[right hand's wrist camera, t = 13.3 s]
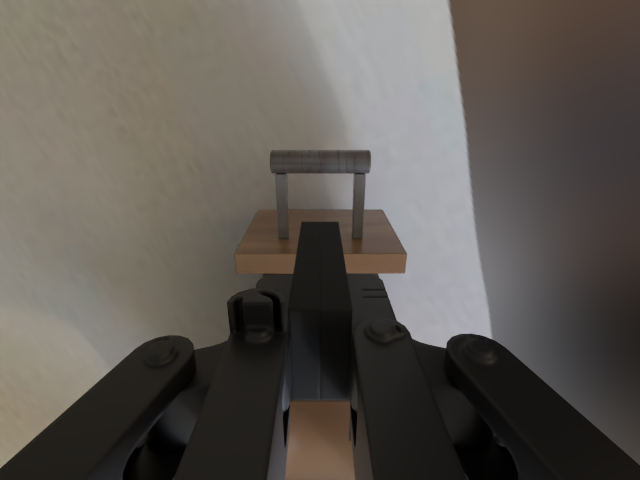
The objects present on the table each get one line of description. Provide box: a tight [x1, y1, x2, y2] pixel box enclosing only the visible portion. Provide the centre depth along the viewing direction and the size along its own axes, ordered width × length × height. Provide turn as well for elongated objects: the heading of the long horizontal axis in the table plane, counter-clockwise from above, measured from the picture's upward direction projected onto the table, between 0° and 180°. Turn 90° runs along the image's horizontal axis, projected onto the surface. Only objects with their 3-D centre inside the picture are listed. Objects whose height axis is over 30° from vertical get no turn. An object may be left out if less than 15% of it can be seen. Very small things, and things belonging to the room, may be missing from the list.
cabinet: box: [285, 394, 355, 480], centre depth 29 cm, size 18×10×10 cm, turn 0°
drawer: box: [234, 150, 407, 278], centre depth 24 cm, size 21×9×8 cm, turn 0°
